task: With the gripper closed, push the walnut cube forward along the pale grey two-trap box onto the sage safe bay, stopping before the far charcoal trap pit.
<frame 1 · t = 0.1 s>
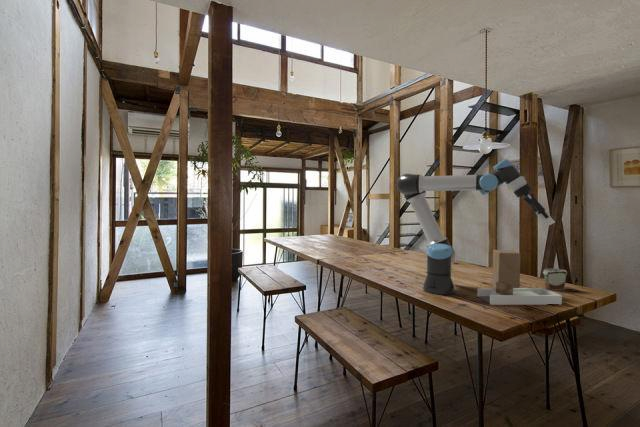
hand: (549, 223, 152), 36 cm above the table, tool tilted 35°, fingers open, 13 cm apart
walnut cube: (504, 293, 148), point 3 cm above the table, touching trap box
trap box: (517, 300, 149), on the table
wooden block: (505, 289, 167), on the table
food container: (551, 288, 169), on the table
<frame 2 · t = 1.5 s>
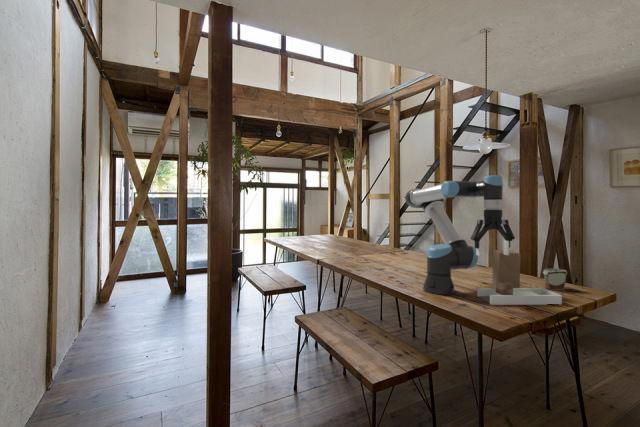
hand: (492, 255, 147), 21 cm above the table, tool pointing down, fingers open, 13 cm apart
nothing on the table moved.
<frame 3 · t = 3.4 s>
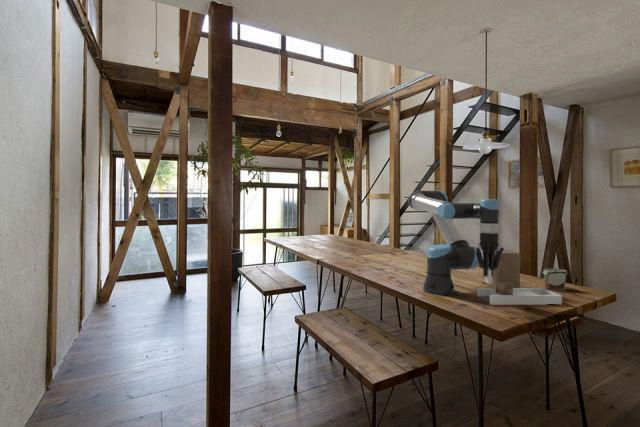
hand: (488, 283, 148), 8 cm above the table, tool pointing down, fingers closed
nothing on the table moved.
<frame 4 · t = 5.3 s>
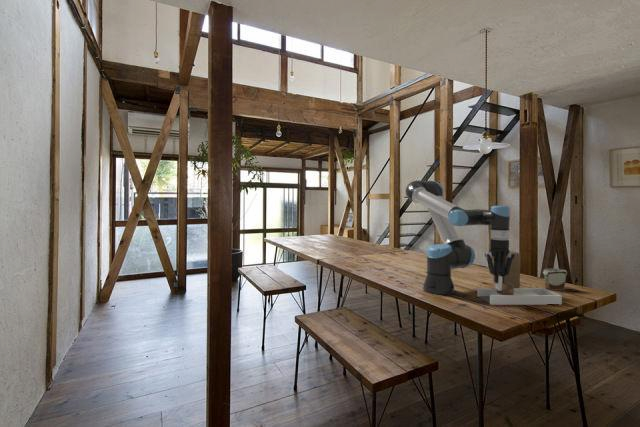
hand: (498, 289, 148), 5 cm above the table, tool pointing down, fingers closed
walnut cube: (505, 294, 148), point 3 cm above the table, touching gripper
everything else where it was.
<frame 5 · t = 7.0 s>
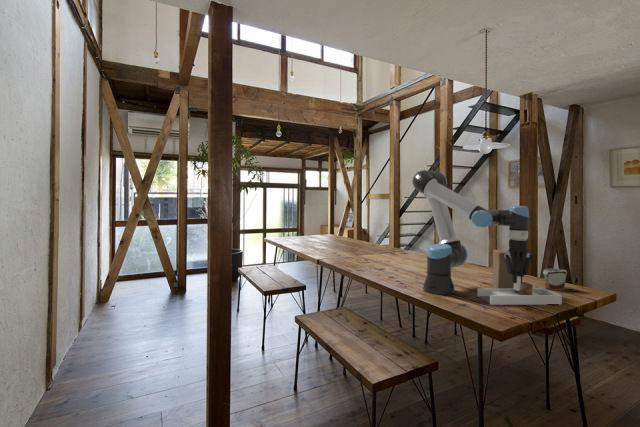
hand: (516, 289, 148), 5 cm above the table, tool pointing down, fingers closed
walnut cube: (523, 293, 149), point 3 cm above the table, touching gripper, trap box
everything else where it was.
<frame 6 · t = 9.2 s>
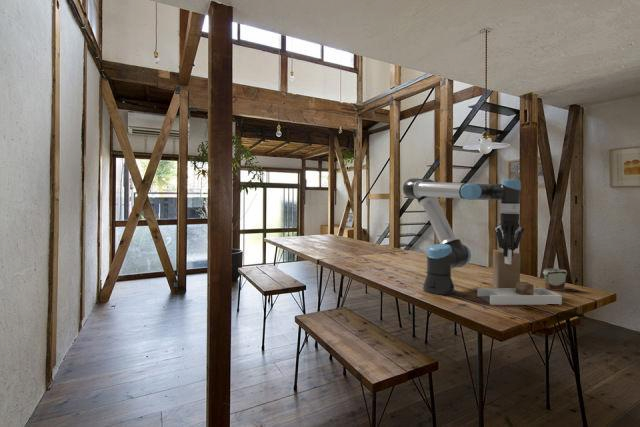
hand: (507, 263, 148), 17 cm above the table, tool pointing down, fingers closed
walnut cube: (524, 293, 149), point 3 cm above the table, touching trap box
everything else where it was.
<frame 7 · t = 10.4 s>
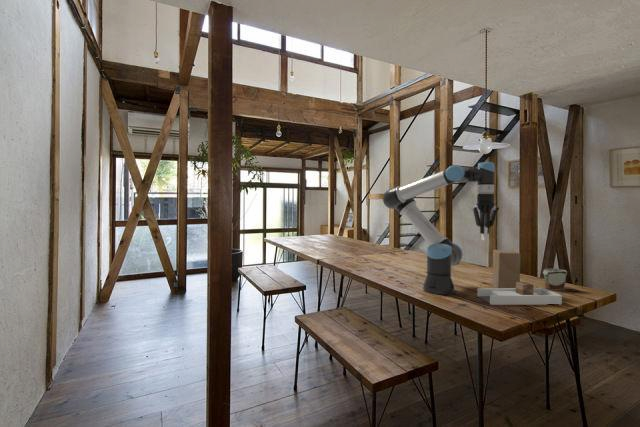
hand: (484, 240, 161), 26 cm above the table, tool pointing down, fingers closed
nothing on the table moved.
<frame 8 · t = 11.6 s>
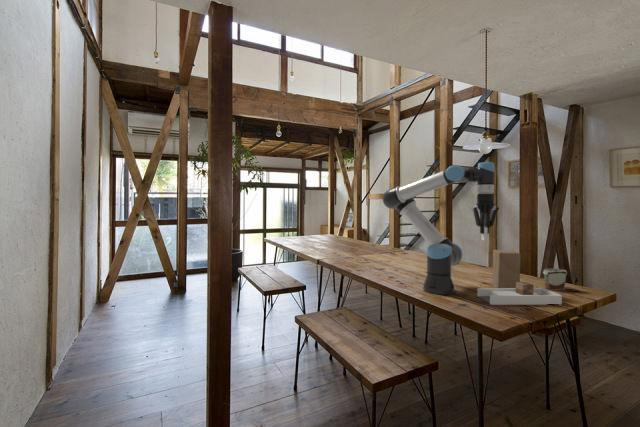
hand: (484, 240, 161), 26 cm above the table, tool pointing down, fingers closed
nothing on the table moved.
at the end: walnut cube 1.8 cm from the target spot, point 3.0 cm above the table; walnut cube tilted 0° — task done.
